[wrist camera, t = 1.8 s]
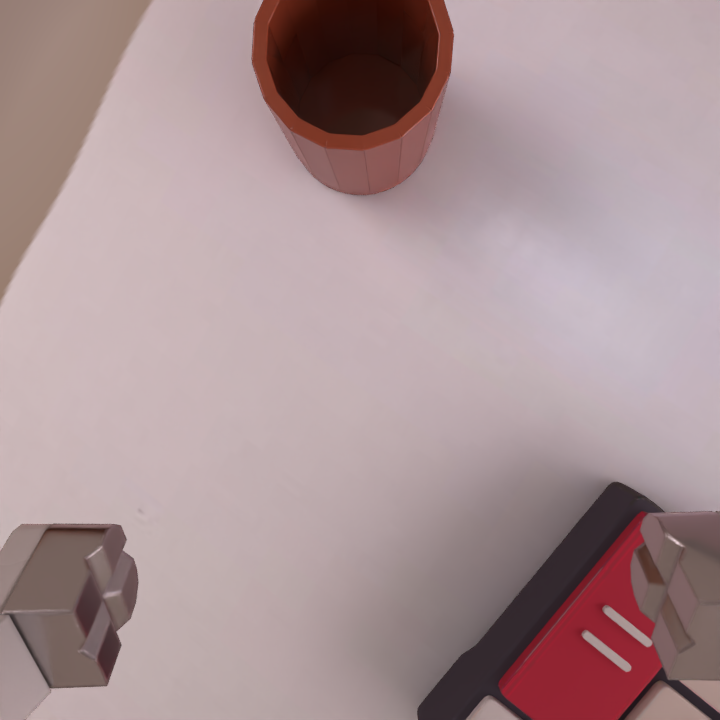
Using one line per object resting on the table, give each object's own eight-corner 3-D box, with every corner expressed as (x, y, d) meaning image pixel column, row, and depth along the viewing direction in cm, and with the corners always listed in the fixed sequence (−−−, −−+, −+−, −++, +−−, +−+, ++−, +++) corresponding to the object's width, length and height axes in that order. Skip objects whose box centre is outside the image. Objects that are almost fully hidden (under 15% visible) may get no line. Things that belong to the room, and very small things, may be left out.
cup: (369, 17, 29) (362, -103, 21) (463, 128, 29) (494, 55, 21) (260, 115, 30) (211, 38, 21) (353, 224, 30) (341, 191, 21)
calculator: (851, 660, 27) (621, 930, 27) (784, 615, 31) (586, 849, 32) (648, 495, 27) (420, 770, 27) (608, 474, 31) (412, 711, 31)
